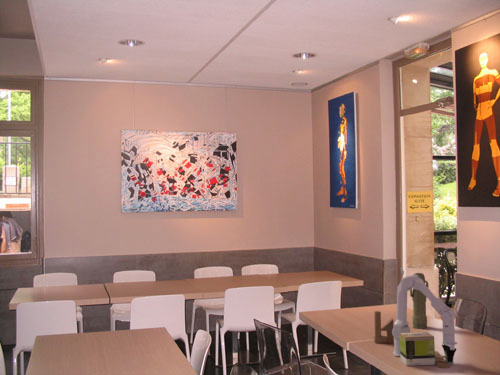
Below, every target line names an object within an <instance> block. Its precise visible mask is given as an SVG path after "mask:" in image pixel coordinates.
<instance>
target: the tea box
mask: <svg viewBox="0 0 500 375" xmlns="http://www.w3.org/2000/svg"><path fill="white" fill-rule="evenodd" d="M435 349H436V347H435V336H434V335H432V334H431V333H429V332H428V331H419V332H418V331H417V332H410V333H400V355H401V356H400V361H401V362H402V363H403V364H404V365H405V366H406V367H410V366H412V367H413V366H434V365H436V364H435V351H436V350H435Z"/></svg>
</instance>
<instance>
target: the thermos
mask: <svg viewBox="0 0 500 375" xmlns="http://www.w3.org/2000/svg"><path fill="white" fill-rule="evenodd" d="M414 274H416V275H418V276H419V277H420V278H421V279H422V280H423V282H424V283H425V285H426V286H427V287H428V288H429V282H428V280H426V277H425V275H424V273H423V272H422V273H421V272H415V273H414ZM409 296H410V297H411V300H412V308H413V309H412V310H413V311H412V313H413V314H412V328H414V329H417V330H425V329H427V328H428V326H427V325H428V316H427V306H426V305H427V297H426V296H425V295H424V294H423V293H422V292H421V291H420V290H416V289H413V288H411V289H410V290H409Z"/></svg>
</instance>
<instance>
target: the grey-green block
mask: <svg viewBox="0 0 500 375" xmlns="http://www.w3.org/2000/svg"><path fill="white" fill-rule="evenodd" d="M438 358H440V360H441V358H444V360H445V361H446V362H447V363H448V364H449V366H453V365H454V361H453V362H448V360H447V354H446V351H445V353H444V355H441V356H438Z"/></svg>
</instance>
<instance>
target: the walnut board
mask: <svg viewBox="0 0 500 375" xmlns="http://www.w3.org/2000/svg"><path fill="white" fill-rule="evenodd" d="M438 356H442V355H441V354H440V352H439V351H437V350H435V365H436V367H437V368H443V369H444V368H445V369H446V368H447V369H449V368H450V365H449V364H448V363H447V362H446V361H445V358H441V360H440V358H438Z"/></svg>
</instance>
